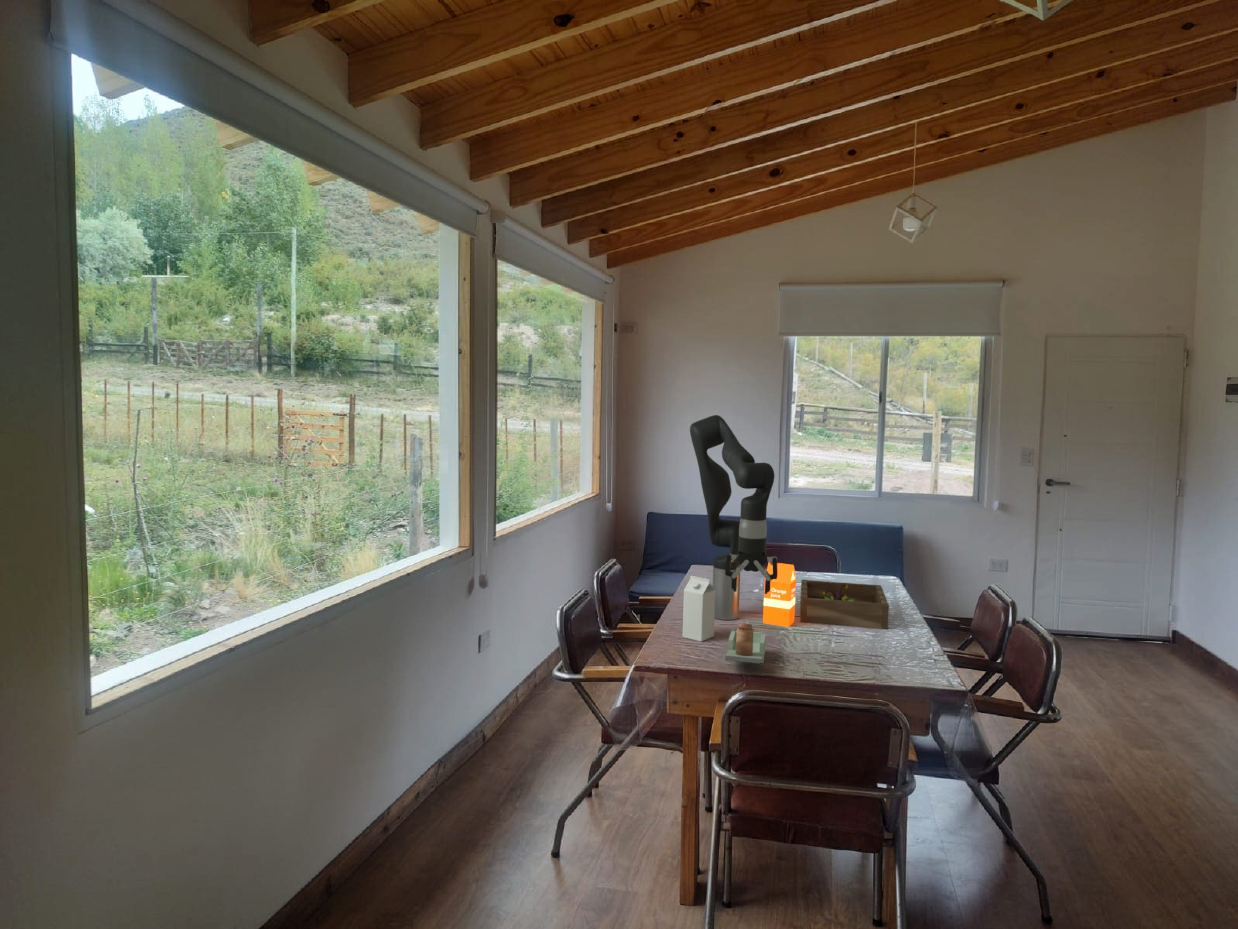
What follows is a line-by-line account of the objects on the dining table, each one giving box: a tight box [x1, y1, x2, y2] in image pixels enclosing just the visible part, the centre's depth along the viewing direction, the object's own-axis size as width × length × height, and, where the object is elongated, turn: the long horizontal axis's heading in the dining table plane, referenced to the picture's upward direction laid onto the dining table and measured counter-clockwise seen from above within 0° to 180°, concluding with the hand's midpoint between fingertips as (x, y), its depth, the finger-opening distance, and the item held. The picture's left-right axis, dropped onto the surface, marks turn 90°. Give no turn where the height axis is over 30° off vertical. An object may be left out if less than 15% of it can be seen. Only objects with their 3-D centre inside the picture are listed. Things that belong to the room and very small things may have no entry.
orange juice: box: [762, 561, 797, 628], centre depth 268 cm, size 8×9×20 cm
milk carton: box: [682, 575, 715, 642], centre depth 250 cm, size 7×7×19 cm
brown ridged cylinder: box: [736, 623, 755, 656], centre depth 223 cm, size 5×5×8 cm
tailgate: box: [724, 649, 763, 664], centre depth 222 cm, size 1×10×11 cm
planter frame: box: [799, 579, 890, 631], centre depth 279 cm, size 28×28×8 cm
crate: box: [727, 629, 767, 664], centre depth 233 cm, size 10×10×6 cm
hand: (750, 592), depth 223 cm, fingers open, 8 cm apart
